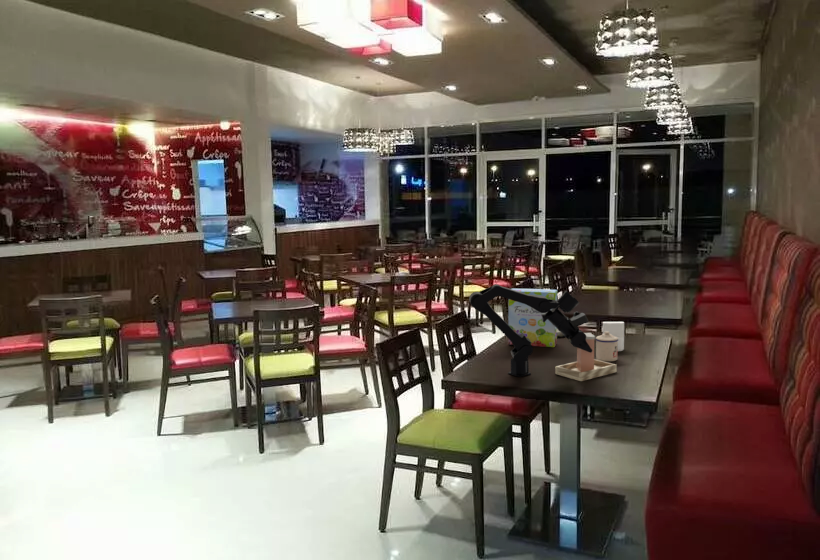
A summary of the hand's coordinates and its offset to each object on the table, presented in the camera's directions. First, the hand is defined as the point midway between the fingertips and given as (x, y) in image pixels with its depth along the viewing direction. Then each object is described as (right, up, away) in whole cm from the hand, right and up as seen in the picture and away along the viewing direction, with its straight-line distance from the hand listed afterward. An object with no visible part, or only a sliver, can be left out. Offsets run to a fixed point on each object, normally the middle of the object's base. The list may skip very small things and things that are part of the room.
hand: (588, 348), depth 260 cm
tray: (-1, -10, +1) cm, 10 cm away
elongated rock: (+8, +1, +79) cm, 80 cm away
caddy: (-1, -8, +1) cm, 9 cm away
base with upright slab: (+21, -4, +38) cm, 44 cm away
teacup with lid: (+14, -7, +23) cm, 27 cm away
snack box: (-12, -3, +51) cm, 52 cm away
